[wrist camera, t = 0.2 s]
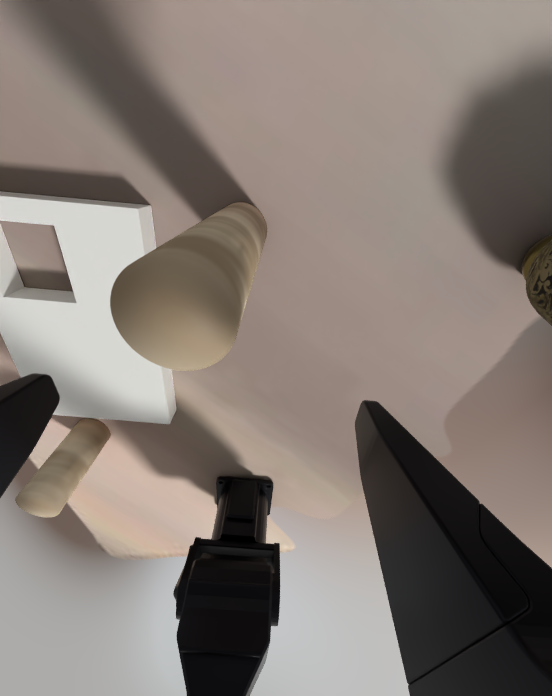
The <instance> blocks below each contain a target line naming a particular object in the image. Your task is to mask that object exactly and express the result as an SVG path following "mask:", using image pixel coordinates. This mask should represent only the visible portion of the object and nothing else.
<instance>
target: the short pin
mask: <svg viewBox="0 0 552 696" xmlns="http://www.w3.org/2000/svg"><path fill="white" fill-rule="evenodd" d="M110 435H111V433H110V430H109V428H108V427H107V426H106V425H105V424H103V423H102V422H100V421H98V420H95V419H82V420H80V421H79V422H78V423H77V424H76V425H75V427H74V428H73V429H72V430H71V431H70V433H69V434H68V435H67V436H66V437H65V439H64V440H63V441H62V442H61V443H60V445H59V446H58V447H57V448H56V450H55V451H54V452H53V453H52V454H51V456H50V457H49V458H48V459H47V460H46V462H45V463H44V464H43V465H42V466H41V468H40V469H39V470H38V471H37V473H36V474H35V475H34V476H33V477H32V479H31V480H30V481H29V482H28V483H27V485H26V486H25V487H24V488H23V489H22V491H21V492H20V493H19V494H18V496H17V497H16V499H15V501H16V503H17V505H18V506H19V507H20V508H21V509H23V510H24V511H26V512H28V513H30V514H33V515H36V516H40V517H54V516H57V515H58V514H59V513H60V512H61V510H62V509H63V507H64V506H65V504H66V503H67V501H68V500H69V498H70V497H71V495H72V493H73V492H74V490H75V489H76V487H77V486H78V484H79V483H80V481H81V480H82V478H83V477H84V475H85V474H86V472H87V471H88V469H89V468H90V466H91V465H92V463H93V462H94V460H95V459H96V457H97V456H98V454H99V453H100V451H101V450H102V448H103V447H104V445H105V444H106V442H107V441H108V439H109V438H110Z"/></svg>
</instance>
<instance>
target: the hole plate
mask: <svg viewBox="0 0 552 696" xmlns="http://www.w3.org/2000/svg"><path fill="white" fill-rule="evenodd" d="M0 220H1V221H12V222H23V223H34V224H45V225H54V227H55V230H56V234H57V237H58V240H59V244H60V247H61V251H62V254H63V258H64V261H65V265H66V268H67V271H68V275H69V278H70V282H71V285H72V289H73V292H71V291H60V290H49V289H37V288H26V287H24V285H23V282H22V280H21V277H20V274H19V272H18V269H17V266H16V264H15V261H14V258H13V256H12V253H11V250H10V248H9V245H8V243H7V240H6V237H5V235H4V232H3V229H2V227H1V224H0V333H1V336H2V338H3V340H4V342H5V344H6V346H7V349H8V351H9V353H10V355H11V357H12V359H13V362H14V364H15V366H16V368H17V370H18V372H19V375H20V377H21V378H22V377H24V376H27V375H29V374H33V373H39V374H48V375H50V376H51V377H52V379H53V381H54V383H55V386H56V388H57V390H58V393H59V395H60V401H59V404H58V406H57V408H56V410H55V411H54V413H53V415H61V416H73V417H86V418H98V419H110V420H123V421H135V422H147V423H160V424H170V423H171V420H172V418H173V416H174V414H175V412H176V410H177V407H176V399H175V391H174V383H173V376H172V369H169V368H165V367H162V366H159V365H157V364H154V363H152V362H150V361H148V360H147V359H145V358H143V357H142V356H141V355H139V354H138V353H137V352H136V351H134V350H133V349H132V348H131V347H130V346H129V345H128V344H127V343H126V342H125V340H124V339H123V338H122V336H121V335H120V333H119V331H118V330H117V328H116V325H115V323H114V321H113V317H112V314H111V308H110V296H111V290H112V287H113V284H114V282H115V280H116V278H117V277H118V275H119V274H120V273H121V271H122V270H123V269H125V268H126V267H127V266H128V265H130V264H131V263H133V262H134V261H136V260H138V259H139V258H141V257H143V256H144V255H146V254H148V253H149V252H151V251H153V250H154V249H156V240H155V233H154V225H153V217H152V209H151V205H142V204H131V203H120V202H109V201H99V200H88V199H77V198H67V197H56V196H45V195H34V194H24V193H13V192H2V191H0Z"/></svg>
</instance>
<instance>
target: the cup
mask: <svg viewBox="0 0 552 696" xmlns="http://www.w3.org/2000/svg"><path fill="white" fill-rule="evenodd" d="M522 274H523V276H524V278H525V280H526V291H527V296H528V298H529V301H530V303H531V305H532V306H533V307H534V309H535V310H536V311H537V312H538V313H539V314H540V315H541V316H542V317H543V318H544V319H545V320H546V321H547V322H548V323H549V324H550V325H552V235H550V236H547V237H545V238H543V239H541V240H540V241H538V242H537V243H536V244H534V245H533V246H532V247H531V248H530V250H529V251H528V252H527V254H526V255H525V257H524V259H523V262H522Z"/></svg>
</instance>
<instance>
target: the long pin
mask: <svg viewBox="0 0 552 696" xmlns="http://www.w3.org/2000/svg"><path fill="white" fill-rule="evenodd" d="M266 235H267V225H266V221H265V219H264V217H263V215H262V214H261V212H260V211H259V210H258V209H257V208H256V207H254V206H253V205H251V204H248V203H245V202H236V203H232V204H230V205H228V206H227V207H225V208H223V209H221V210H220V211H218V212H216V213H215V214H213V215H211V216H210V217H208V218H206V219H205V220H203V221H201V222H200V223H198V224H196V225H195V226H193V227H191V228H190V229H188V230H186V231H185V232H183V233H181V234H180V235H178V236H176V237H174V238H173V239H171V240H169V241H168V242H166V243H164V244H163V245H161V246H159V247H158V248H156V249H154V250H153V251H151V252H149V253H148V254H146V255H144V256H143V257H141V258H139V259H138V260H136V261H134V262H133V263H131V264H130V265H128V266H127V267H126V268H125V269H123V270H122V271H121V273H120V274H119V275H118V277H117V278H116V280H115V282H114V284H113V287H112V290H111V296H110V308H111V314H112V317H113V321H114V323H115V325H116V328H117V330H118V331H119V333H120V335H121V336H122V338H123V339H124V340H125V342H126V343H127V344H128V345H129V346H130V347H131V348H132V349H133V350H134V351H136V352H137V353H138V354H139V355H141V356H142V357H143V358H145V359H147V360H148V361H150V362H152V363H154V364H157V365H159V366H162V367H165V368H169V369H173V370H180V371H191V370H199V369H203V368H206V367H209V366H211V365H213V364H215V363H217V362H218V361H220V360H221V359H222V358H223V357H224V356H225V355H226V354H227V353H228V352H229V351H230V349H231V347H232V346H233V344H234V341H235V339H236V336H237V332H238V329H239V326H240V322H241V319H242V316H243V312H244V309H245V306H246V302H247V299H248V296H249V292H250V289H251V286H252V283H253V279H254V276H255V273H256V269H257V266H258V263H259V259H260V256H261V253H262V249H263V246H264V243H265V239H266Z"/></svg>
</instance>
